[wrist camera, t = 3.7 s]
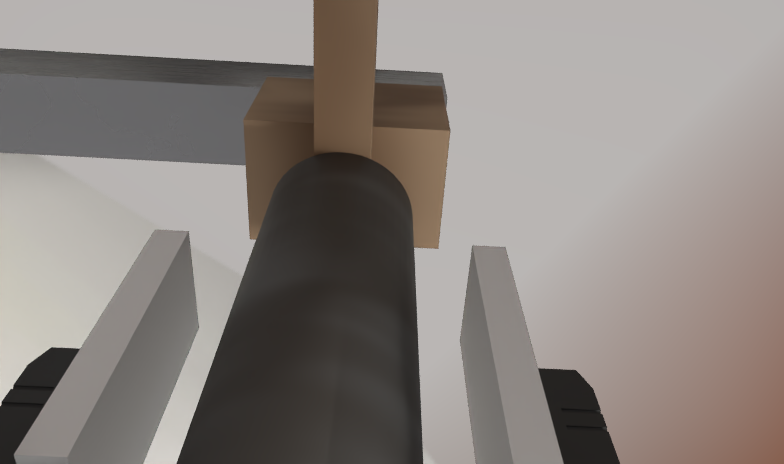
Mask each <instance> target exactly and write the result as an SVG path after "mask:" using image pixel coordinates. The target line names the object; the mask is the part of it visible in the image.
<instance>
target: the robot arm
mask: <svg viewBox="0 0 784 464" xmlns="http://www.w3.org/2000/svg"><path fill="white" fill-rule="evenodd" d="M198 328H199V325H198V315H197V306H196V296H195V287H194V277H193V268H192V259H191V249H190V240H189V231H172V230H154V232H153V234H152V235H151V237H150V238H149V240H148V242H147V243H146V245H145V246H144V248H143V250H142V251H141V253H140V254H139V256H138V258H137V259H136V261H135V262H134V264H133V266H132V267H131V269H130V270H129V272H128V273H127V275H126V277H125V278H124V280H123V281H122V283H121V285H120V286H119V288H118V289H117V291H116V293H115V294H114V296H113V297H112V299H111V301H110V302H109V304H108V305H107V307H106V309H105V310H104V312H103V313H102V315H101V316H100V318H99V320H98V321H97V323H96V324H95V326H94V328H93V329H92V331H91V332H90V334H89V336H88V337H87V339H86V340H85V342H84V344H83V345H82V347H81V348H80V349H74V348H53V347H51V348H50V349H49V350H47V351H46V352H45V353H43V354H42V355H41V356H39V357H38V358H37V359H35V360H34V361H32V362H31V363H30V364H28V365H27V367H26V368H25V370H24V371H23V373H22V374H21V375H20V377H19V378H18V380H17V381H16V382H15V384H14V387H13V389H10V391H9V392H8V394H7V395H6V397H5V398H4V399H3V401H2V405H1V406H0V464H143V462H144V460H145V458H146V455H147V453H148V450H149V448H150V445H151V443H152V440H153V438H154V436H155V433H156V431H157V428H158V426H159V423H160V421H161V419H162V416H163V414H164V411H165V409H166V406H167V404H168V401H169V399H170V397H171V394H172V392H173V389H174V387H175V384H176V382H177V379H178V377H179V375H180V372H181V370H182V367H183V365H184V362H185V360H186V358H187V355H188V353H189V350H190V348H191V345H192V343H193V340H194V338H195V336H196V333H197V331H198ZM460 343H461V351H462V359H463V366H464V375H465V383H466V390H467V398H468V406H469V413H470V422H471V430H472V437H473V445H474V453H475V461H476V464H620V462H619V460H618V457H617V454H616V451H615V448H614V446H613V443H612V440H611V437H610V435H609V432H607V426H606V423H605V421H604V418H603V415H602V414H601V412H600V411H601V410H600V407H599V404H598V401H597V398H596V396H595V393H594V390H593V388H592V387H591V386H590V385H589V384H588V383H587V382H586V381H585V380H584V378H583V377H582V376H581V375H580V374H579V373H578V372H577V371H576V370H561V369H539V368H538V367H537V363H536V359H535V356H534V352H533V348H532V344H531V341H530V337H529V333H528V330H527V326H526V322H525V318H524V315H523V311H522V307H521V304H520V300H519V296H518V292H517V289H516V285H515V281H514V278H513V274H512V270H511V267H510V263H509V259H508V255H507V252H506V248H505V247H489V246H472V253H471V260H470V268H469V276H468V284H467V291H466V299H465V306H464V314H463V321H462V329H461V337H460Z"/></svg>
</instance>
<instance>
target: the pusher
mask: <svg viewBox="0 0 784 464" xmlns="http://www.w3.org/2000/svg"><path fill="white" fill-rule="evenodd" d="M377 20H378V0H314V79H300V78H282V77H267V78H266V80H265V82H264V83H263V85H262V87H261V89H260V91H259V92H258V94H257V96H256V98H255V100H254V101H253V103H252V105H251V107H250V108H249V110H248V112H247V114H246V116H245V117H244V119H243V124H244V142H245V160H246V178H247V196H248V213H249V231H250V239H256V242H255V245H254V247H253V250H252V253H251V256H250V259H249V262H248V264H247V267H246V270H245V273H244V276H243V278H242V281H241V284H240V287H239V290H238V292H237V295H236V298H235V301H234V304H233V306H232V309H231V312H230V315H229V318H228V321H227V323H226V326H225V329H224V332H223V335H222V337H221V340H220V343H219V346H218V349H217V351H216V354H215V357H214V360H213V363H212V366H211V368H210V371H209V374H208V377H207V380H206V382H205V385H204V388H203V391H202V394H201V396H200V399H199V402H198V405H197V408H196V411H195V413H194V416H193V419H192V422H191V425H190V427H189V430H188V433H187V436H186V439H185V441H184V444H183V447H182V450H181V453H180V456H179V458H178V461H177V464H423V448H422V426H421V404H420V403H421V401H420V379H419V355H418V331H417V307H416V285H415V284H416V283H415V260H414V247H418V248H435V249H438V244H439V236H440V225H441V216H442V205H443V197H444V187H445V177H446V167H447V158H448V148H449V138H450V127H449V121H448V116H447V111H446V105H445V100H444V95H443V89H442V86H427V85H408V84H390V83H375V68H376V45H377Z"/></svg>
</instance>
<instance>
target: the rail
mask: <svg viewBox="0 0 784 464" xmlns="http://www.w3.org/2000/svg"><path fill="white" fill-rule="evenodd" d="M267 77H282V78H300V79H314V66H305V65H287V64H267V63H251V62H232V61H215V60H197V59H179V58H161V57H143V56H126V55H108V54H89V53H72V52H71V53H70V52H54V51H53V52H52V51H35V50H18V49H17V50H16V49H0V152H1V153H20V154H39V155H60V156H77V157H97V158H115V159H134V160H135V159H136V160H154V161H173V162H191V163H211V164H230V165H246V160H245V142H244V124H243V119H244V117H245V116H246V114H247V112H248V110H249V108H250V107H251V105H252V103H253V101H254V100H255V98H256V96H257V94H258V92H259V91H260V89H261V87H262V85H263V83H264V82H265V80H266V78H267ZM375 83H390V84H408V85H427V86H442V89H443V95H444V100H445V105H446V104H447V95H446V90H445V85H444V80H443V75H442V73H430V72H412V71H411V72H410V71H395V70H376V69H375Z"/></svg>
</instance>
